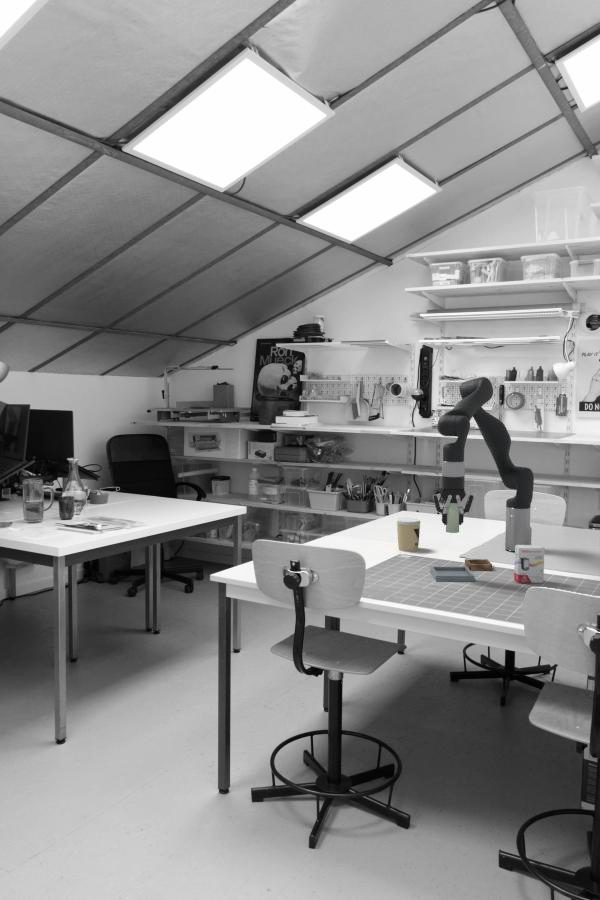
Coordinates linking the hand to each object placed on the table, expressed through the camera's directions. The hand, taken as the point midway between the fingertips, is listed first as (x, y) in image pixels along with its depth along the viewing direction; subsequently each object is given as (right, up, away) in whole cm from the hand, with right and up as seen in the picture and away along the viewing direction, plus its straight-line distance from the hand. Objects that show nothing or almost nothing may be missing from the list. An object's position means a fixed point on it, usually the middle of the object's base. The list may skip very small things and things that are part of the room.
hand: (452, 524), depth 240 cm
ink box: (+24, -19, -5) cm, 31 cm away
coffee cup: (-9, -15, +42) cm, 46 cm away
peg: (0, -3, 0) cm, 2 cm away
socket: (+12, -17, +13) cm, 25 cm away
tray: (0, -18, +1) cm, 18 cm away
